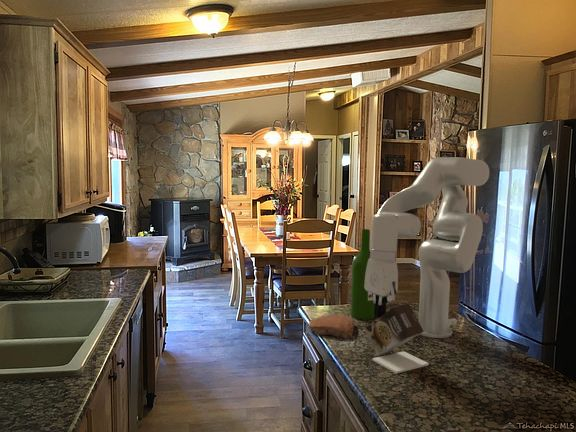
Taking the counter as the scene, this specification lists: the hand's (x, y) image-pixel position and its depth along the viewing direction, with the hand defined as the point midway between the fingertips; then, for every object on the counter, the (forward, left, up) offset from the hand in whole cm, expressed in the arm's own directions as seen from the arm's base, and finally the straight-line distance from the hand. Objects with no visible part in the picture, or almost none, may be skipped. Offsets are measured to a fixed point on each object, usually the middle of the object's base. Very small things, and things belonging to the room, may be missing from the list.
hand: (379, 316), depth 144 cm
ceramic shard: (0, -24, -12) cm, 27 cm away
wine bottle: (-19, -31, -11) cm, 38 cm away
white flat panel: (-1, +8, -11) cm, 14 cm away
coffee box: (-1, -2, -8) cm, 8 cm away
